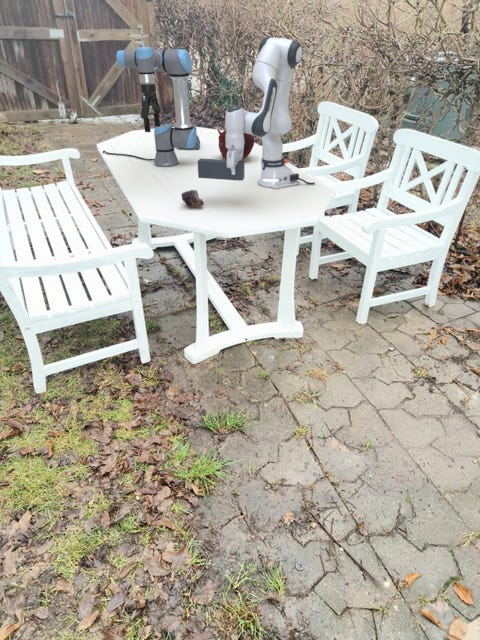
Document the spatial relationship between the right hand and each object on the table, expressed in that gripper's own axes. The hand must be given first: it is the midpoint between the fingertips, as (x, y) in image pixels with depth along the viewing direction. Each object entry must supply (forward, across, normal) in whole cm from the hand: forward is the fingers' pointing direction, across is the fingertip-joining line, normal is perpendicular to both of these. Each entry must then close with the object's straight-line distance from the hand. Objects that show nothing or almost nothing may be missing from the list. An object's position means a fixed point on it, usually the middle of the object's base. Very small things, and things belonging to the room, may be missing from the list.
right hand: (235, 172), depth 223 cm
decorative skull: (+16, +83, +20) cm, 87 cm away
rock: (+16, -8, +21) cm, 28 cm away
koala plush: (+16, +107, +61) cm, 124 cm away
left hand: (-16, +13, +47) cm, 51 cm away
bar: (+3, 0, +7) cm, 8 cm away
